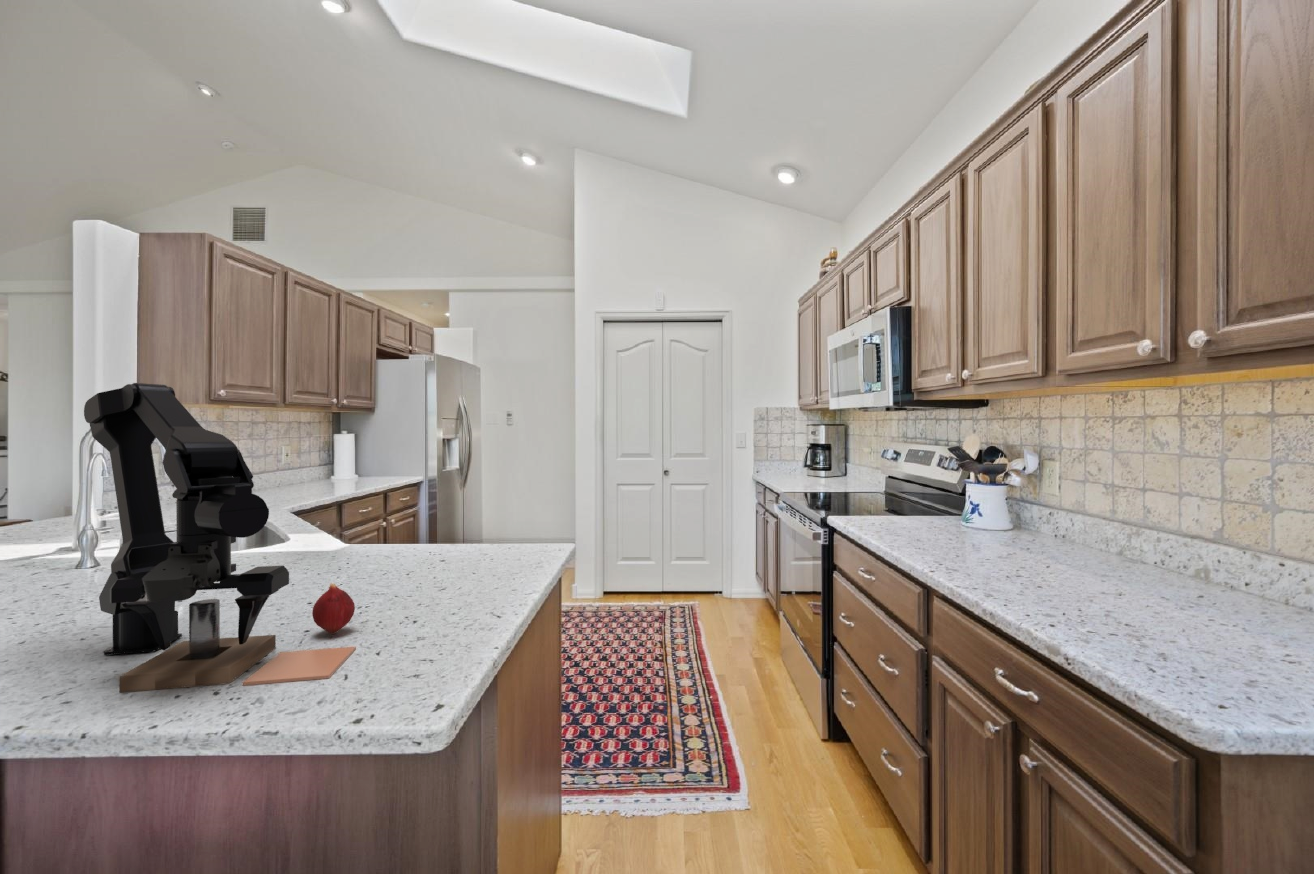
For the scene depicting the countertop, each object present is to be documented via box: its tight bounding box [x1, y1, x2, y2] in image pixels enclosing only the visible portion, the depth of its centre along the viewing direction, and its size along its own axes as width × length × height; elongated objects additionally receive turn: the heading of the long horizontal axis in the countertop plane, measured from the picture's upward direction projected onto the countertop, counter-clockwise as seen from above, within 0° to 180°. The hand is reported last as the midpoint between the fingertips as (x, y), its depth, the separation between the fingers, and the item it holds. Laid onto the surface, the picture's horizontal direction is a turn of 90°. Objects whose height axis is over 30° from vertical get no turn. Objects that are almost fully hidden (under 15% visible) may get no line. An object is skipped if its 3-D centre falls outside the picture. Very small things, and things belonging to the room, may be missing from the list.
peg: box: [188, 598, 221, 660], centre depth 74 cm, size 3×3×9 cm
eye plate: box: [118, 634, 277, 693], centre depth 74 cm, size 12×12×2 cm
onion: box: [311, 582, 356, 635], centre depth 88 cm, size 6×6×8 cm
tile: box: [242, 646, 357, 686], centre depth 75 cm, size 10×10×1 cm
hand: (204, 646), depth 74 cm, fingers open, 9 cm apart
